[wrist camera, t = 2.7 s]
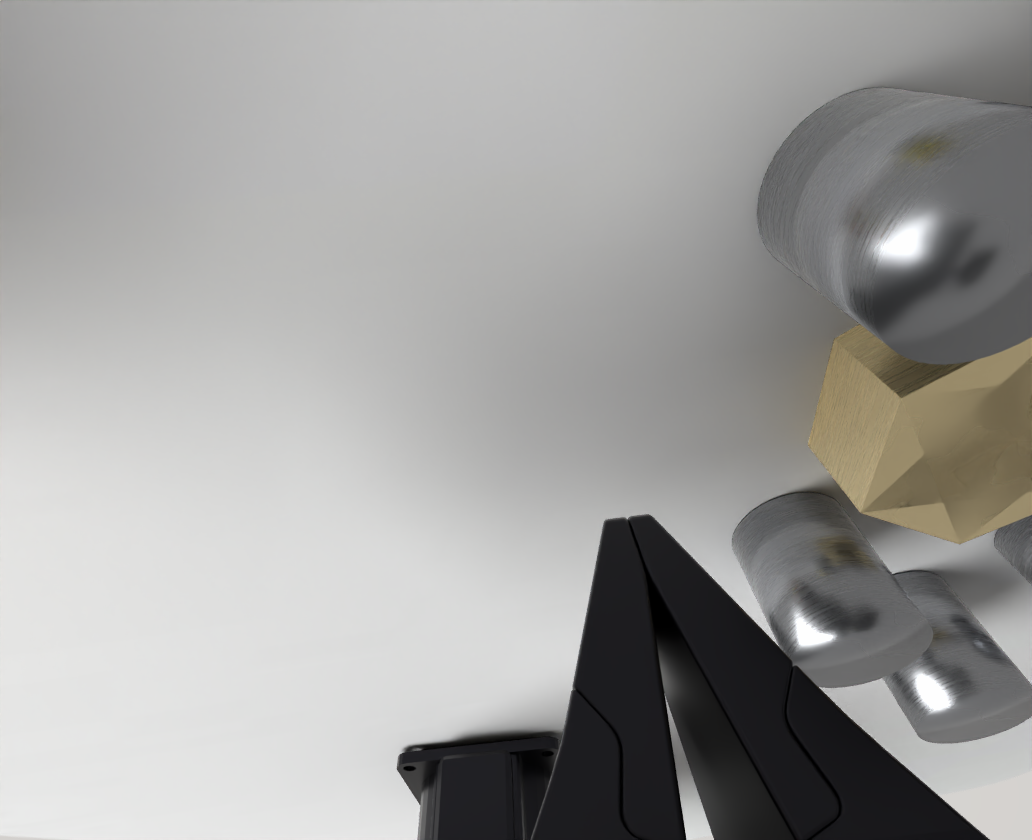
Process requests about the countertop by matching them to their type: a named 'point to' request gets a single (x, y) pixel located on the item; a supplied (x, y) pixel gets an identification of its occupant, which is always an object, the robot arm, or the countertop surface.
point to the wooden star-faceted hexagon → (928, 436)
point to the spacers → (917, 336)
